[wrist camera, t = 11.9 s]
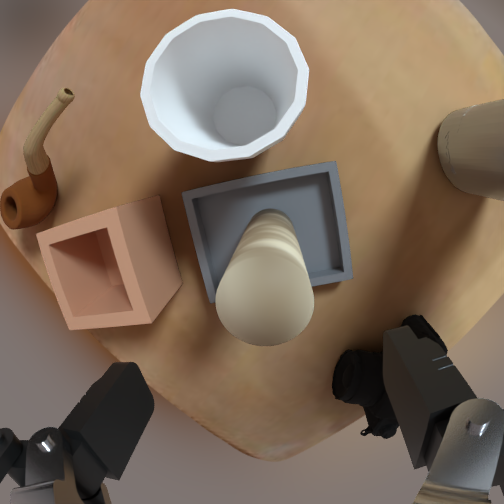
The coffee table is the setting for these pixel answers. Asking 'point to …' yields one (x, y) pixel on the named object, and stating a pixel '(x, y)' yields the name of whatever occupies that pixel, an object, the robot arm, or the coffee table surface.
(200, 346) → the coffee table surface
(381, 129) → the coffee table surface
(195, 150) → the foam cup
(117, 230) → the deep box
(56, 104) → the smoking pipe
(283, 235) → the maple dowel
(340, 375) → the film camera
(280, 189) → the tray
